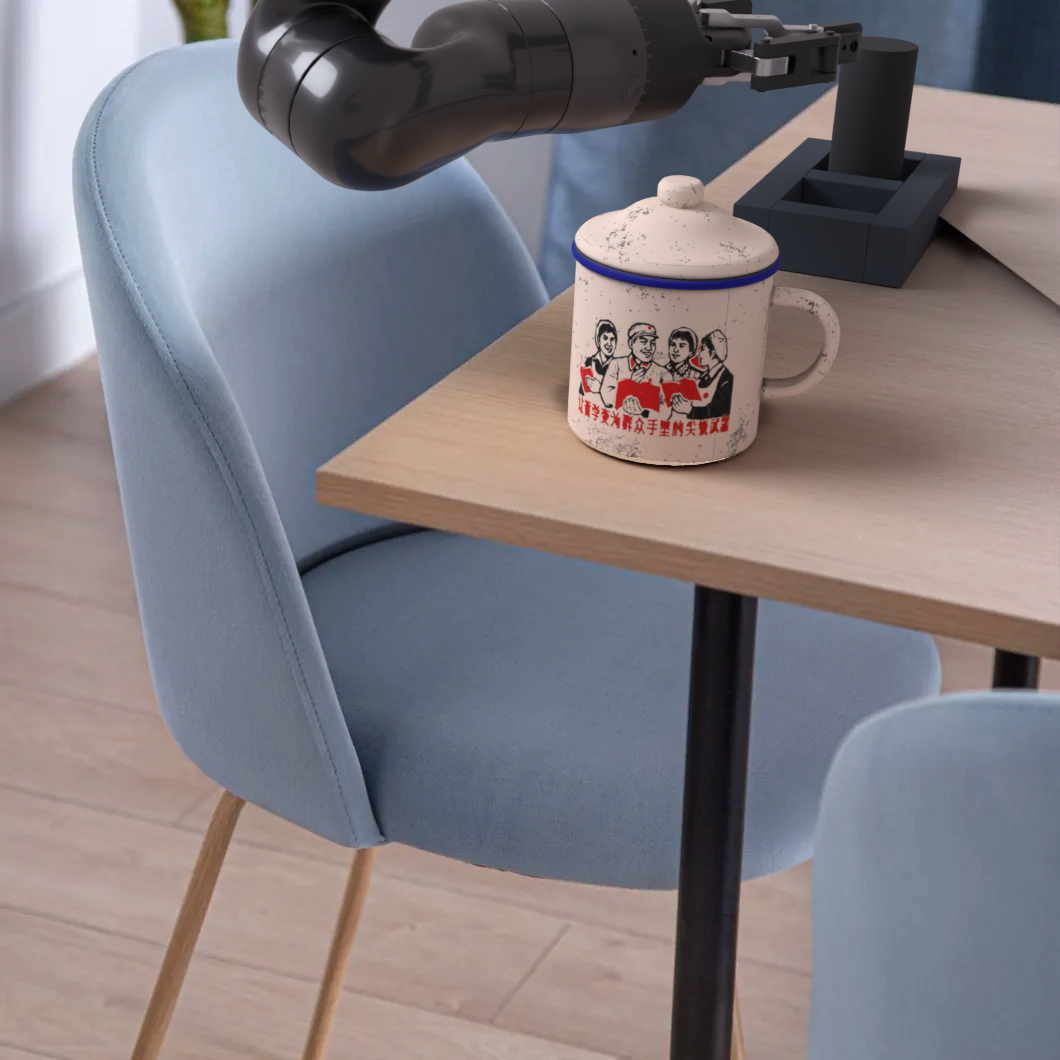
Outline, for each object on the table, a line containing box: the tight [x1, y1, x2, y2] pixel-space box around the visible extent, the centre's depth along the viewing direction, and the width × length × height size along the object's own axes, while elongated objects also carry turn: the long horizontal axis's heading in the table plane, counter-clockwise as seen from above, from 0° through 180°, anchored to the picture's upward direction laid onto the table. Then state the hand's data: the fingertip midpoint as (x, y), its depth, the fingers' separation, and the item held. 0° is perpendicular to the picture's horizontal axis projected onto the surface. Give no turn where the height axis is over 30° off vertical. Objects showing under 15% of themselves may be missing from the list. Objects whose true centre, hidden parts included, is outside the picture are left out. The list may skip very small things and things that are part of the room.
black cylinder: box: [828, 36, 920, 181], centre depth 111 cm, size 5×5×11 cm
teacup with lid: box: [567, 174, 841, 463], centre depth 78 cm, size 12×9×12 cm
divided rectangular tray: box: [732, 136, 962, 289], centre depth 109 cm, size 10×18×4 cm, turn 158°
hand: (800, 27), depth 103 cm, fingers open, 8 cm apart
